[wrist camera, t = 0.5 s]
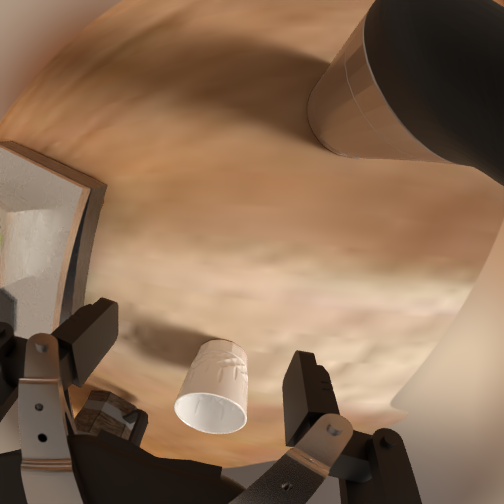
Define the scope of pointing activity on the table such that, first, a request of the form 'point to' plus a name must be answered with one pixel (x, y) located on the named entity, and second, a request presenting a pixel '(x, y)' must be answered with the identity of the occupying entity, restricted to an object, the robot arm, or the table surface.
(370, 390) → the table surface
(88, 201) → the grey tray
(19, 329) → the plate
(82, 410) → the mug
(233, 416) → the white cup
